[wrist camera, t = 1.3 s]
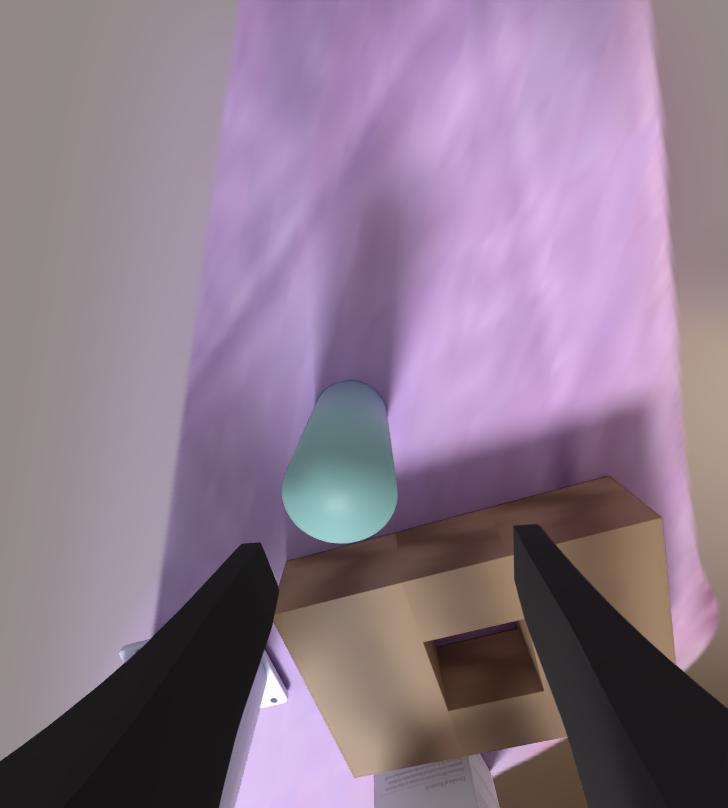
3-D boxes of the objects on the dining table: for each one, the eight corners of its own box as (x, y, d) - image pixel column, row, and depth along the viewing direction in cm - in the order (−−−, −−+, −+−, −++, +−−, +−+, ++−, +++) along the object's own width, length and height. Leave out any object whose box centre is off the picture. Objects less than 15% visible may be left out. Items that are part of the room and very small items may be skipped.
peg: (328, 457, 21) (306, 555, 14) (303, 393, 20) (263, 461, 12) (395, 437, 21) (411, 527, 13) (374, 371, 20) (377, 426, 12)
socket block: (356, 709, 28) (354, 777, 24) (286, 561, 23) (270, 615, 20) (634, 649, 25) (680, 714, 22) (609, 475, 21) (661, 517, 18)
